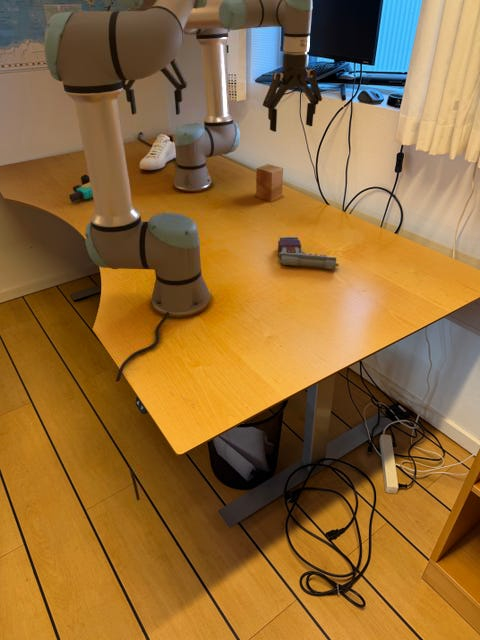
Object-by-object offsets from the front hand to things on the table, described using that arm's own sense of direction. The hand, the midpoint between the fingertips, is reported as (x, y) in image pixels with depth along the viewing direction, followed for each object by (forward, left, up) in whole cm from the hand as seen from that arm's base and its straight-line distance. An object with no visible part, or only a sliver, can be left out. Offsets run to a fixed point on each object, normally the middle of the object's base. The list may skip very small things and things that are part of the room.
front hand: (156, 113), depth 145 cm
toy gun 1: (+26, +38, -36) cm, 58 cm away
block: (+26, -35, -36) cm, 56 cm away
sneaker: (+63, +17, -36) cm, 74 cm away
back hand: (+9, -42, -6) cm, 43 cm away
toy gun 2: (-24, -47, -36) cm, 64 cm away
